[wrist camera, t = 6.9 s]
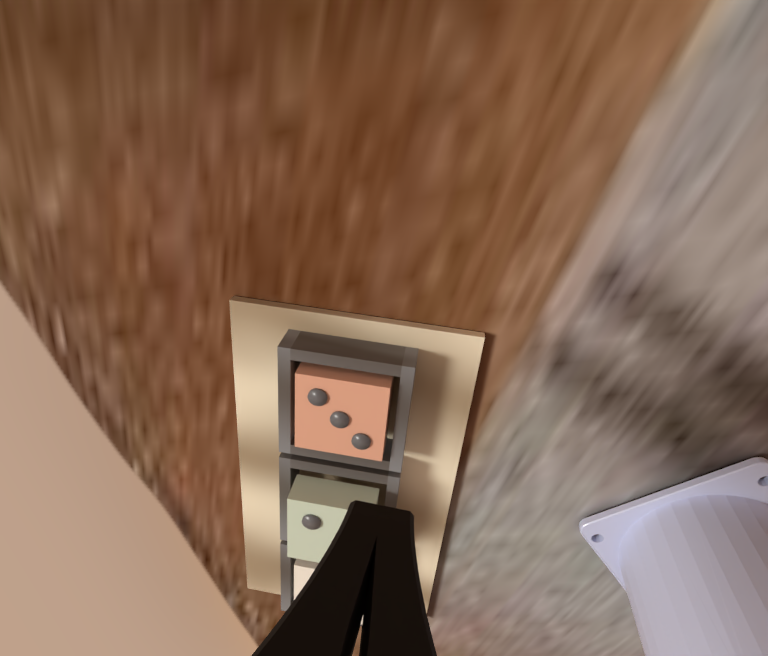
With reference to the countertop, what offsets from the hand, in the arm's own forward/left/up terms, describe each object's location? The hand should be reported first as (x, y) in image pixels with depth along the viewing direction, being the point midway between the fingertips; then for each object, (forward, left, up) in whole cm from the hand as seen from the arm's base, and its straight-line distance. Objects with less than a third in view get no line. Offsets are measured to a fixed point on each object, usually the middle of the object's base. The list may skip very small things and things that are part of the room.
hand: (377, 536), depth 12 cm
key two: (-5, +8, -8) cm, 12 cm away
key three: (-1, +4, -9) cm, 10 cm away
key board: (-5, +8, -10) cm, 13 cm away
